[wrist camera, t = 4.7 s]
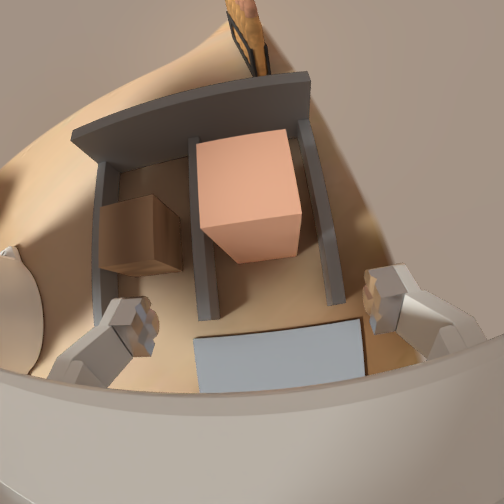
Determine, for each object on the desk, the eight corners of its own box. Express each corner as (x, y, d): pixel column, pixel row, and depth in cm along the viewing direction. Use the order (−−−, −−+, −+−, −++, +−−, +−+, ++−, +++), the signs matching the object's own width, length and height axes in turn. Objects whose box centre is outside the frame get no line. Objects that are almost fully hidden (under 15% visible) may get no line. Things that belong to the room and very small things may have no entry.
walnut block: (135, 277, 26) (98, 267, 20) (133, 226, 27) (100, 207, 21) (183, 271, 26) (154, 259, 20) (180, 217, 27) (152, 193, 21)
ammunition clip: (272, 79, 29) (260, -7, 17) (256, 83, 29) (240, -2, 17) (245, 34, 31) (230, -35, 20) (232, 38, 31) (214, -32, 20)
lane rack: (112, 325, 25) (56, 326, 18) (113, 166, 29) (72, 130, 21) (339, 304, 23) (362, 300, 15) (305, 127, 27) (307, 71, 19)
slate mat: (214, 467, 21) (213, 469, 21) (194, 338, 24) (192, 339, 24) (366, 453, 20) (367, 455, 20) (358, 318, 23) (359, 318, 22)
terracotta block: (238, 263, 25) (200, 228, 14) (232, 209, 26) (196, 144, 15) (296, 256, 24) (302, 213, 14) (288, 200, 26) (285, 129, 15)
